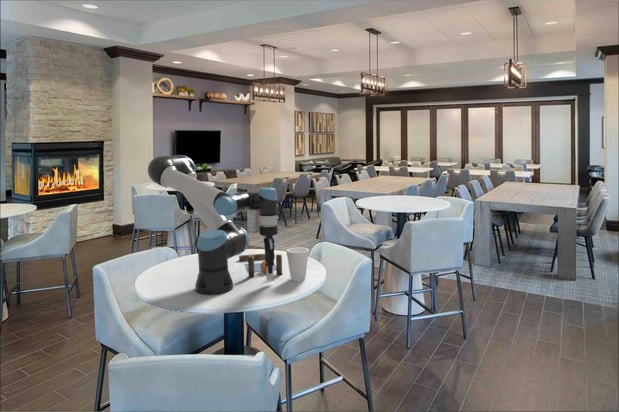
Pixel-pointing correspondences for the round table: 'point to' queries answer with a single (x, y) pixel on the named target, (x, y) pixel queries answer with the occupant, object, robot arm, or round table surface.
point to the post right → (278, 264)
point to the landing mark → (258, 267)
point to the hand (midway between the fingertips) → (270, 280)
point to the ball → (263, 266)
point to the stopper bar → (256, 256)
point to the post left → (251, 266)
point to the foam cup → (297, 263)
